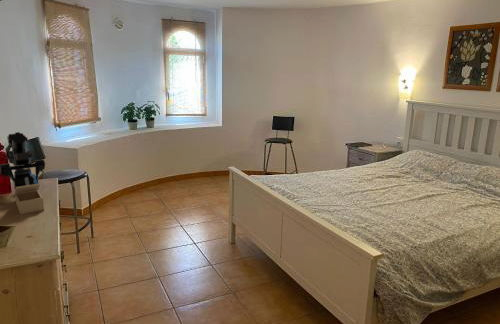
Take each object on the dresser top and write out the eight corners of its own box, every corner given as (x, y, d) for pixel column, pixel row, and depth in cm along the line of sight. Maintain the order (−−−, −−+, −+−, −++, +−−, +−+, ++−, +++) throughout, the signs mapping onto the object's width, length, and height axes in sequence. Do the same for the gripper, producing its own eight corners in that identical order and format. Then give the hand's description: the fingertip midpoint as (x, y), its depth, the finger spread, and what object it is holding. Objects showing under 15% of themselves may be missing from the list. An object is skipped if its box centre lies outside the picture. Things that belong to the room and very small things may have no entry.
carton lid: (14, 193, 184) (13, 184, 185) (37, 190, 190) (36, 181, 191) (16, 188, 173) (14, 178, 174) (40, 184, 179) (38, 175, 180)
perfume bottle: (30, 191, 208) (27, 170, 205) (21, 190, 209) (18, 170, 206) (39, 188, 214) (36, 168, 211) (29, 187, 215) (26, 167, 212)
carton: (16, 206, 186) (14, 193, 184) (39, 202, 192) (37, 190, 190) (20, 214, 175) (18, 202, 174) (44, 210, 181) (42, 197, 180)
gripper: (-4, 148, 175) (2, 176, 169) (41, 143, 186) (48, 169, 180) (-2, 160, 183) (3, 188, 177) (41, 155, 194) (47, 181, 188)
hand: (26, 181), depth 181 cm, fingers open, 9 cm apart
